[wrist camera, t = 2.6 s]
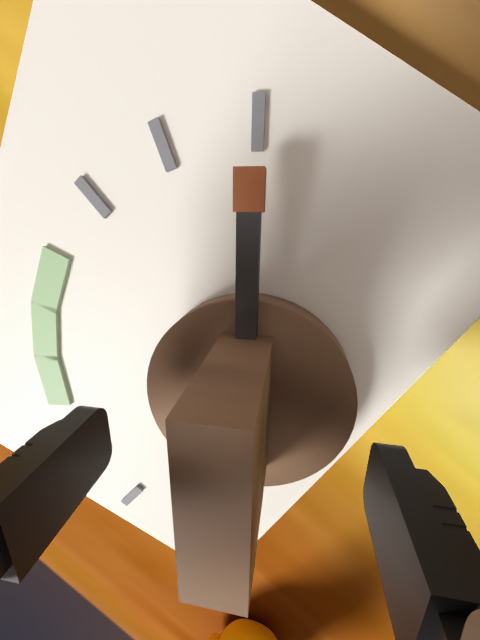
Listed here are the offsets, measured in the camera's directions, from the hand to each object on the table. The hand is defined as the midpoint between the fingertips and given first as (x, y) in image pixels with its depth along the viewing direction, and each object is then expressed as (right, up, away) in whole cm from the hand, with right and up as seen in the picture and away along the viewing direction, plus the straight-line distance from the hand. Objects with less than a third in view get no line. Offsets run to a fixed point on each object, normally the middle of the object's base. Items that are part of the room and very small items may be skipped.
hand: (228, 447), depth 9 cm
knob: (+1, +3, +3) cm, 4 cm away
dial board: (-2, +4, +5) cm, 7 cm away
